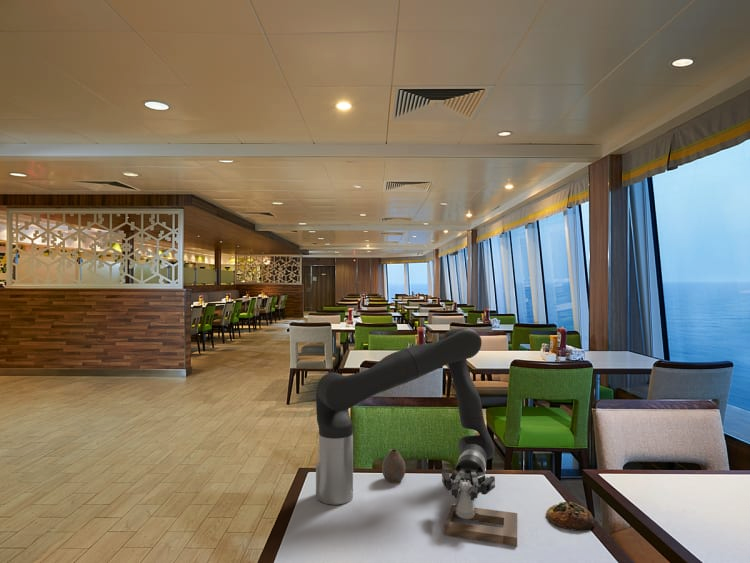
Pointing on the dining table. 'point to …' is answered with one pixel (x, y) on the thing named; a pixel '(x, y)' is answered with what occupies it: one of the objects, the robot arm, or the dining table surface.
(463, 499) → the rook chess piece
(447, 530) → the rectangular wooden frame
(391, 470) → the vase
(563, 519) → the bread roll
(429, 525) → the dining table surface
